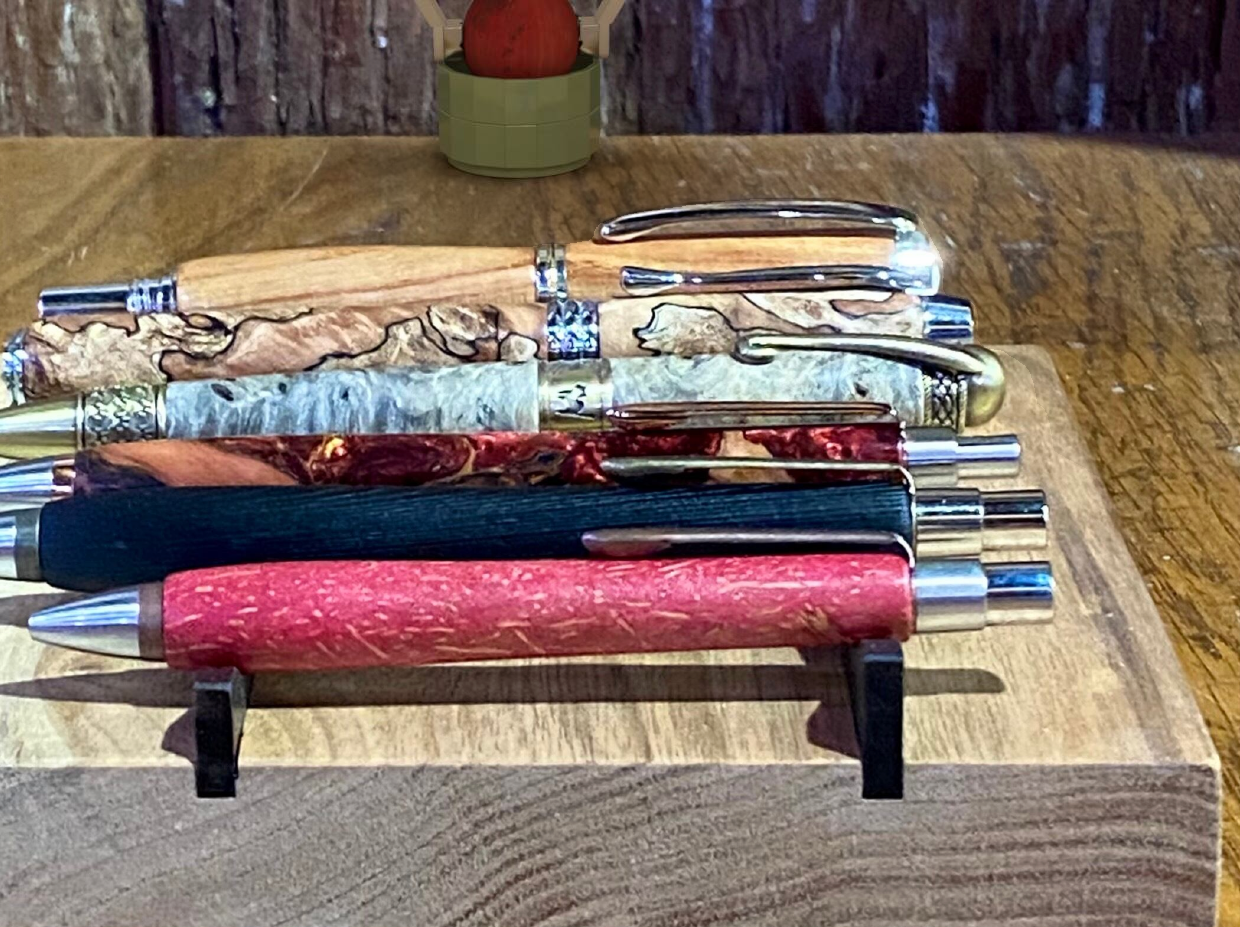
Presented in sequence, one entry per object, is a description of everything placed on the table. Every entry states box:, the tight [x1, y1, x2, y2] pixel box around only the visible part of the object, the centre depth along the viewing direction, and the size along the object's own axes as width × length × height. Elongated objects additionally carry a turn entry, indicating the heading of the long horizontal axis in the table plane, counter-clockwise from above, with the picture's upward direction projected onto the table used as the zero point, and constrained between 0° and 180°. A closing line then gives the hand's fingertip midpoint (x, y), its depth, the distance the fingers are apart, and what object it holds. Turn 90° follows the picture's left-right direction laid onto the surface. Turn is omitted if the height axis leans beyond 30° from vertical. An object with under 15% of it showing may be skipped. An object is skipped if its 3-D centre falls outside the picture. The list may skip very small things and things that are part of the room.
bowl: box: [437, 54, 601, 179], centre depth 114 cm, size 8×8×5 cm
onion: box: [461, 0, 579, 79], centre depth 112 cm, size 6×6×8 cm
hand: (520, 58), depth 113 cm, fingers closed on onion, 6 cm apart
